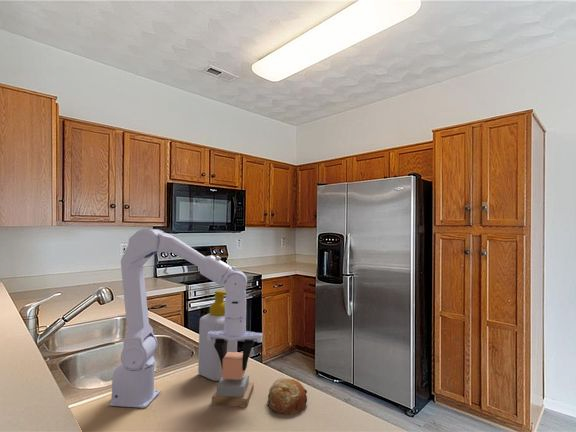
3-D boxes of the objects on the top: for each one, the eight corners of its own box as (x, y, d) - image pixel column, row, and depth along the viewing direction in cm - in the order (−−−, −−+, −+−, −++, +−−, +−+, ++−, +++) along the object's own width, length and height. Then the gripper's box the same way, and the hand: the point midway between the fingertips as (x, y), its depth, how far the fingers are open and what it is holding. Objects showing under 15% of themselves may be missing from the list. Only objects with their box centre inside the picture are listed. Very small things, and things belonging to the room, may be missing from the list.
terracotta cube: (227, 370, 89) (227, 352, 90) (245, 371, 89) (245, 352, 89) (222, 378, 84) (222, 359, 85) (241, 379, 84) (241, 359, 84)
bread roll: (269, 410, 87) (257, 384, 86) (301, 388, 91) (290, 363, 90) (281, 432, 78) (268, 403, 77) (317, 406, 81) (304, 378, 80)
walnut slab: (211, 407, 82) (211, 397, 83) (221, 390, 91) (221, 381, 92) (246, 409, 82) (246, 399, 82) (253, 391, 91) (253, 382, 91)
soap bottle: (215, 383, 94) (217, 295, 95) (196, 374, 100) (198, 291, 101) (238, 372, 101) (240, 290, 103) (218, 365, 107) (220, 287, 108)
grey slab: (216, 395, 83) (216, 385, 83) (223, 383, 90) (223, 373, 90) (243, 397, 83) (243, 387, 83) (248, 384, 90) (248, 375, 90)
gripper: (203, 319, 84) (202, 373, 84) (259, 321, 83) (258, 376, 82) (212, 312, 91) (211, 362, 91) (263, 314, 90) (263, 364, 89)
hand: (234, 368), depth 87 cm, fingers closed on terracotta cube, 5 cm apart
